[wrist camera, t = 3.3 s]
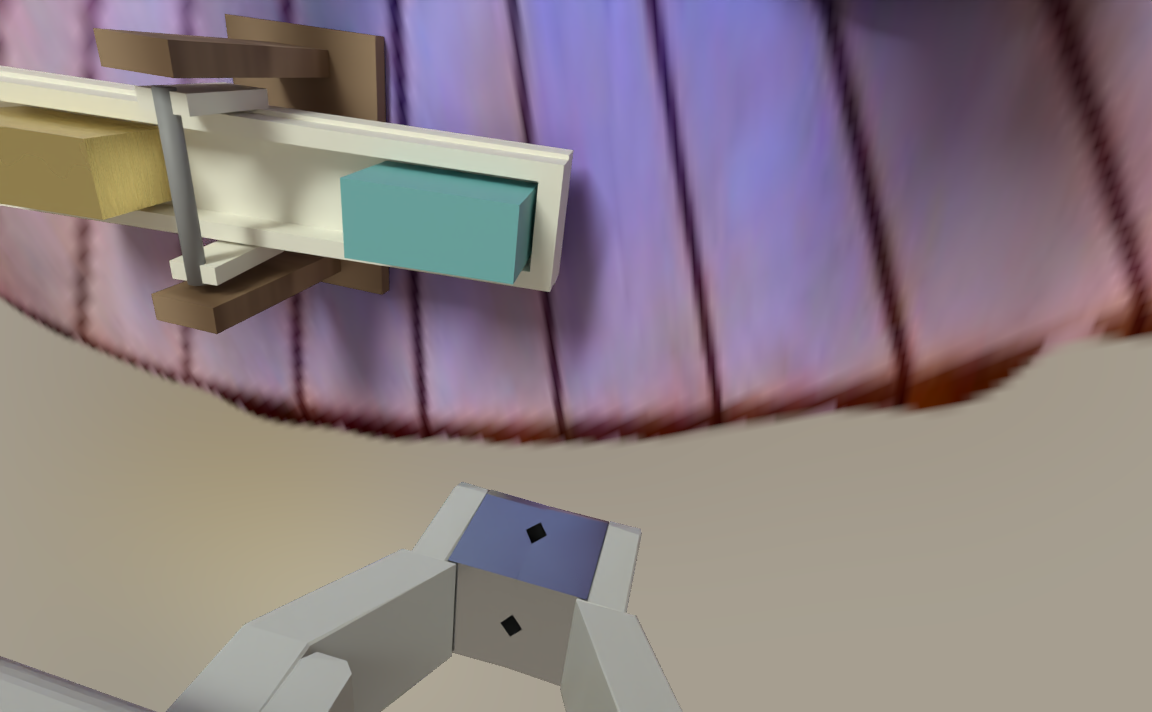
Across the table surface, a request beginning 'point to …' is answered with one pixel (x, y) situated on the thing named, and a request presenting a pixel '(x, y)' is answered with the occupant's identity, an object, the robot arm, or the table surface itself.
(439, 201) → the rider
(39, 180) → the block
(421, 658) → the robot arm
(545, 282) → the beam
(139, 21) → the table surface
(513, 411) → the table surface
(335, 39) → the stand
